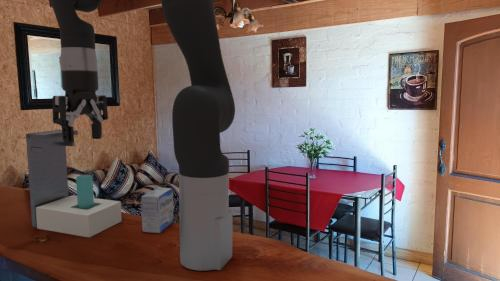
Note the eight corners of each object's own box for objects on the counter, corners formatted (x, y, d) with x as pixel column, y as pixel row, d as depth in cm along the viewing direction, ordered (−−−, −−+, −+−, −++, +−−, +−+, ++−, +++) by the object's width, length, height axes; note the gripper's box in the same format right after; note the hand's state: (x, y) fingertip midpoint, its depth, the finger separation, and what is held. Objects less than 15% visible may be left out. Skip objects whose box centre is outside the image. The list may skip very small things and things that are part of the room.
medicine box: (159, 234, 85) (159, 196, 84) (141, 232, 86) (140, 195, 85) (173, 222, 93) (173, 188, 92) (157, 220, 94) (156, 186, 92)
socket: (121, 221, 93) (120, 201, 92) (89, 237, 82) (88, 215, 82) (73, 213, 98) (72, 195, 97) (37, 228, 87) (35, 207, 87)
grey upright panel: (81, 216, 96) (77, 130, 93) (49, 229, 87) (43, 134, 84) (65, 213, 98) (61, 129, 95) (32, 226, 88) (25, 133, 85)
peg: (98, 224, 90) (95, 175, 89) (87, 229, 87) (84, 178, 85) (86, 222, 91) (84, 174, 90) (75, 227, 88) (72, 177, 87)
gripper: (67, 67, 77) (72, 146, 79) (114, 70, 90) (117, 138, 92) (39, 68, 79) (45, 144, 81) (89, 71, 92) (92, 136, 95)
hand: (83, 140), depth 87 cm, fingers open, 8 cm apart
